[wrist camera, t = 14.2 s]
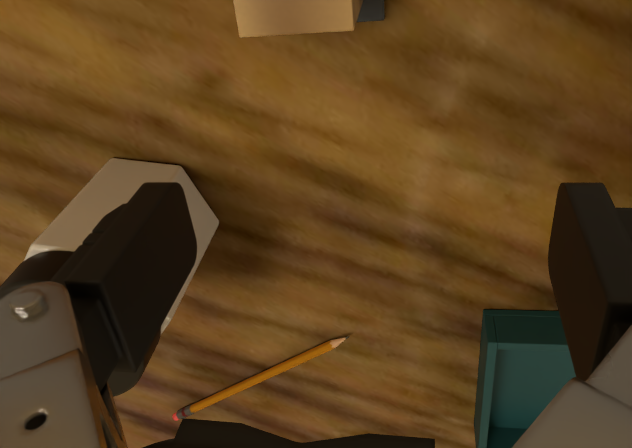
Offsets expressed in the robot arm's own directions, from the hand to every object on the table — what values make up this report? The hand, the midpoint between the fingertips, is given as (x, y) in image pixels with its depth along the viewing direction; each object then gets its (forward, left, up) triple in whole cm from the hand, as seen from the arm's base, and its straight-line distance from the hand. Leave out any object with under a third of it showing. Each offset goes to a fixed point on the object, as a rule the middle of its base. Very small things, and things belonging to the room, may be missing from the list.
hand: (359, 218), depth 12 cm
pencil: (+12, +28, -20) cm, 36 cm away
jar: (+16, +12, -20) cm, 28 cm away
